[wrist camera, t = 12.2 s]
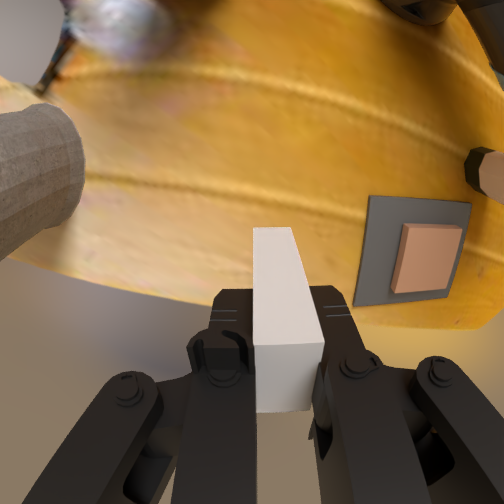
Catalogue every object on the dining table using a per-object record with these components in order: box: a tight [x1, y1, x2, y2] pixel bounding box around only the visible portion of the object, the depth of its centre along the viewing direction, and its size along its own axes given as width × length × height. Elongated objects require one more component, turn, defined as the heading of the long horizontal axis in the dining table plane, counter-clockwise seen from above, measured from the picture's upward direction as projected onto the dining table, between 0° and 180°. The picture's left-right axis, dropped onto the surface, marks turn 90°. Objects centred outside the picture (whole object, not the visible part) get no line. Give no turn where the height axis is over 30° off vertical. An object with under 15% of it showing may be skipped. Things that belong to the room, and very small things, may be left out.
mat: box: [353, 195, 472, 306], centre depth 44 cm, size 22×20×1 cm
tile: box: [391, 223, 462, 293], centre depth 43 cm, size 2×12×12 cm
